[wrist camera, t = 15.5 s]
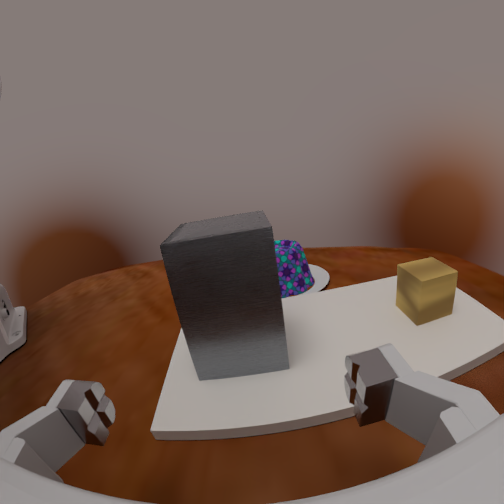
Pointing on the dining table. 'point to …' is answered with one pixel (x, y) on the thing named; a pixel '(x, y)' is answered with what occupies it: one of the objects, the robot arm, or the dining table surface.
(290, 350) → the placemat
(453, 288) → the block
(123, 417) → the dining table surface
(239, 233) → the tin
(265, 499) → the dining table surface
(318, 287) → the pudding
